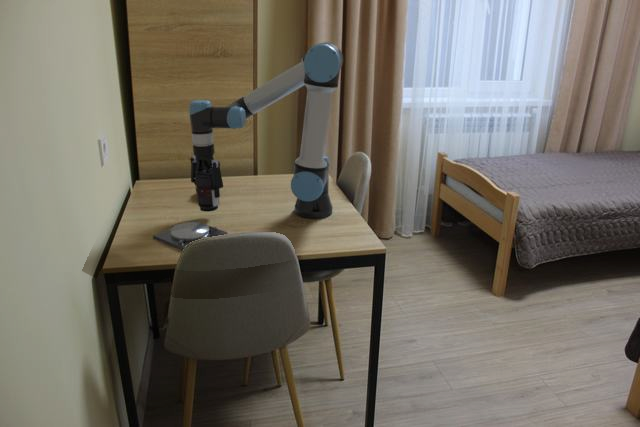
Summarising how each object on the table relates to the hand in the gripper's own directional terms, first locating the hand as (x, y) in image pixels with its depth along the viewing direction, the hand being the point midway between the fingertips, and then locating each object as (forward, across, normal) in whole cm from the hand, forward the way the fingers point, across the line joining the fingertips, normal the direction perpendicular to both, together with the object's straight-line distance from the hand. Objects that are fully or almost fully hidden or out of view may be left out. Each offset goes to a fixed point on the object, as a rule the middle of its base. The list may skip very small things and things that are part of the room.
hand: (208, 203), depth 194 cm
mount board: (+6, -8, +16) cm, 19 cm away
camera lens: (+3, 0, 0) cm, 3 cm away
